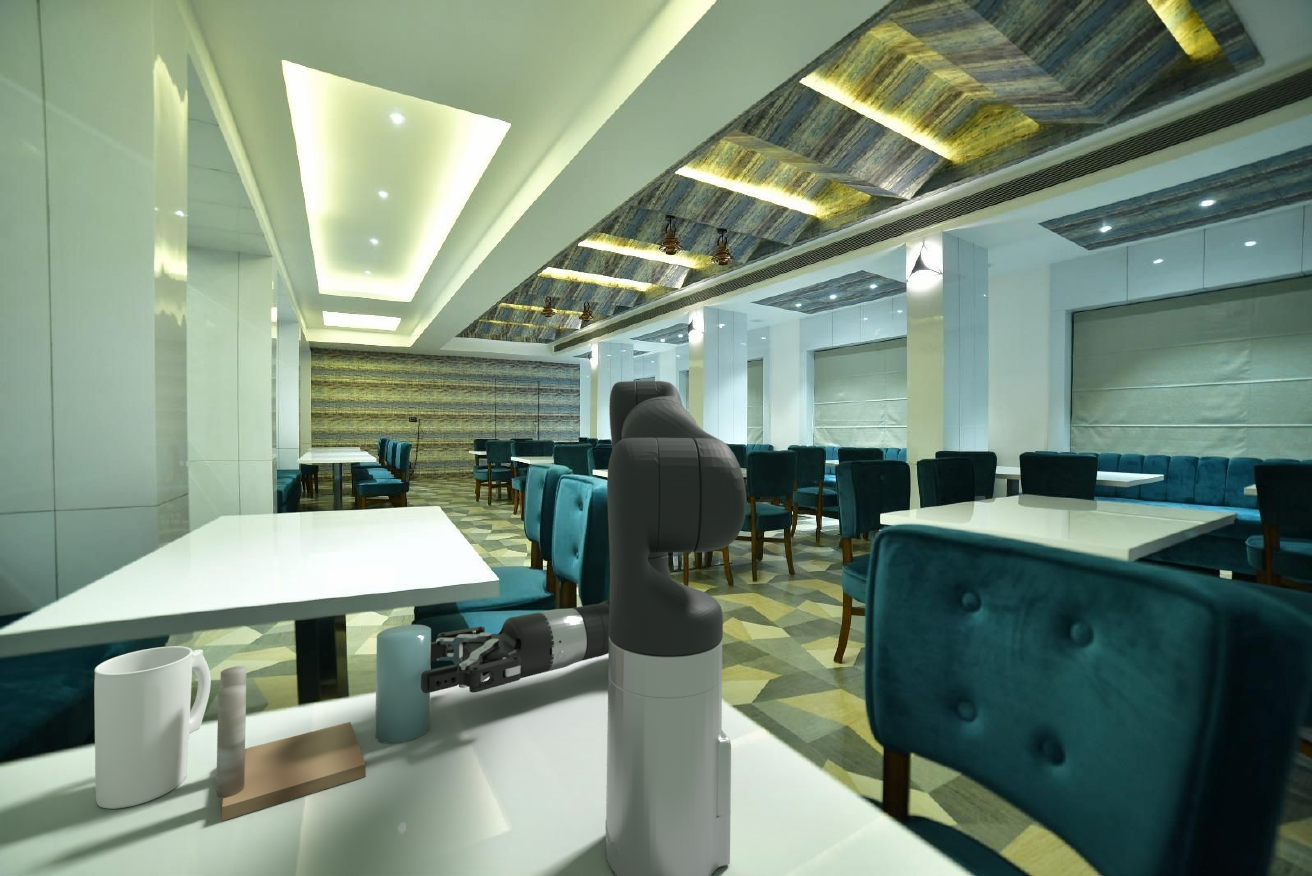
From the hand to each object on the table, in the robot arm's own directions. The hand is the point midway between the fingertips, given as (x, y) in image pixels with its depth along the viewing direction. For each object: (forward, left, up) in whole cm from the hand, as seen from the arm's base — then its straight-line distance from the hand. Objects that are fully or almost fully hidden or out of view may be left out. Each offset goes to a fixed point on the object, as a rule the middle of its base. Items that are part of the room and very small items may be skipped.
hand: (412, 669), depth 63 cm
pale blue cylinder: (+1, 0, -7) cm, 7 cm away
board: (+10, +6, -7) cm, 13 cm away
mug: (+22, +4, -7) cm, 23 cm away
